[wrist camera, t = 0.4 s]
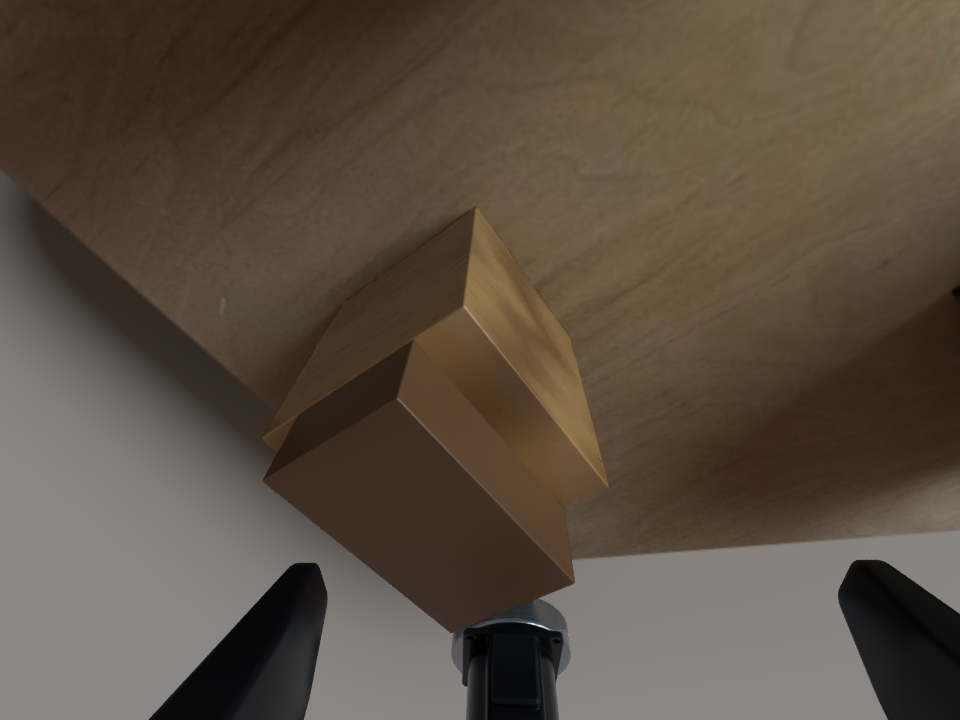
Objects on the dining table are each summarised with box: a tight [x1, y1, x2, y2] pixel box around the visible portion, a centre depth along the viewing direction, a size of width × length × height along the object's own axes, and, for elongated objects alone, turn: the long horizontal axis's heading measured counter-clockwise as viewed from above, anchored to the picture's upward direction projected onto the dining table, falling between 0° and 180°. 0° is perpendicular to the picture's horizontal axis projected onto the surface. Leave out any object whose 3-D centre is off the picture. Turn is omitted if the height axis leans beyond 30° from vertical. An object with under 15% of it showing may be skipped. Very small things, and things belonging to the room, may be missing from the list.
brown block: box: [263, 340, 575, 633], centre depth 13 cm, size 7×4×2 cm, turn 36°
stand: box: [262, 207, 609, 508], centre depth 18 cm, size 7×7×9 cm
